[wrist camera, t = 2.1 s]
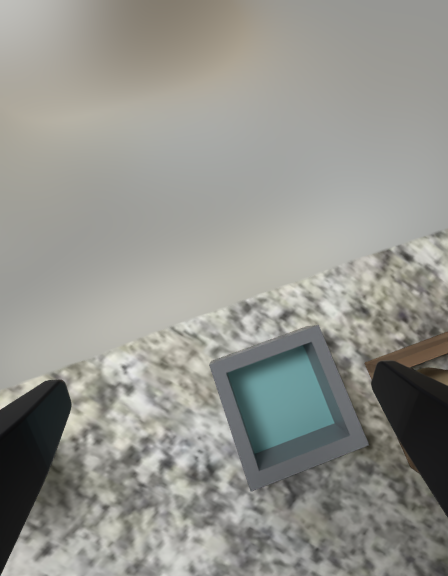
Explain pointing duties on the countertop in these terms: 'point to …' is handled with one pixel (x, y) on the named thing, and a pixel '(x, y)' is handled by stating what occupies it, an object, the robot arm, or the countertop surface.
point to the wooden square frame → (414, 360)
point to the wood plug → (436, 374)
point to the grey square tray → (286, 406)
